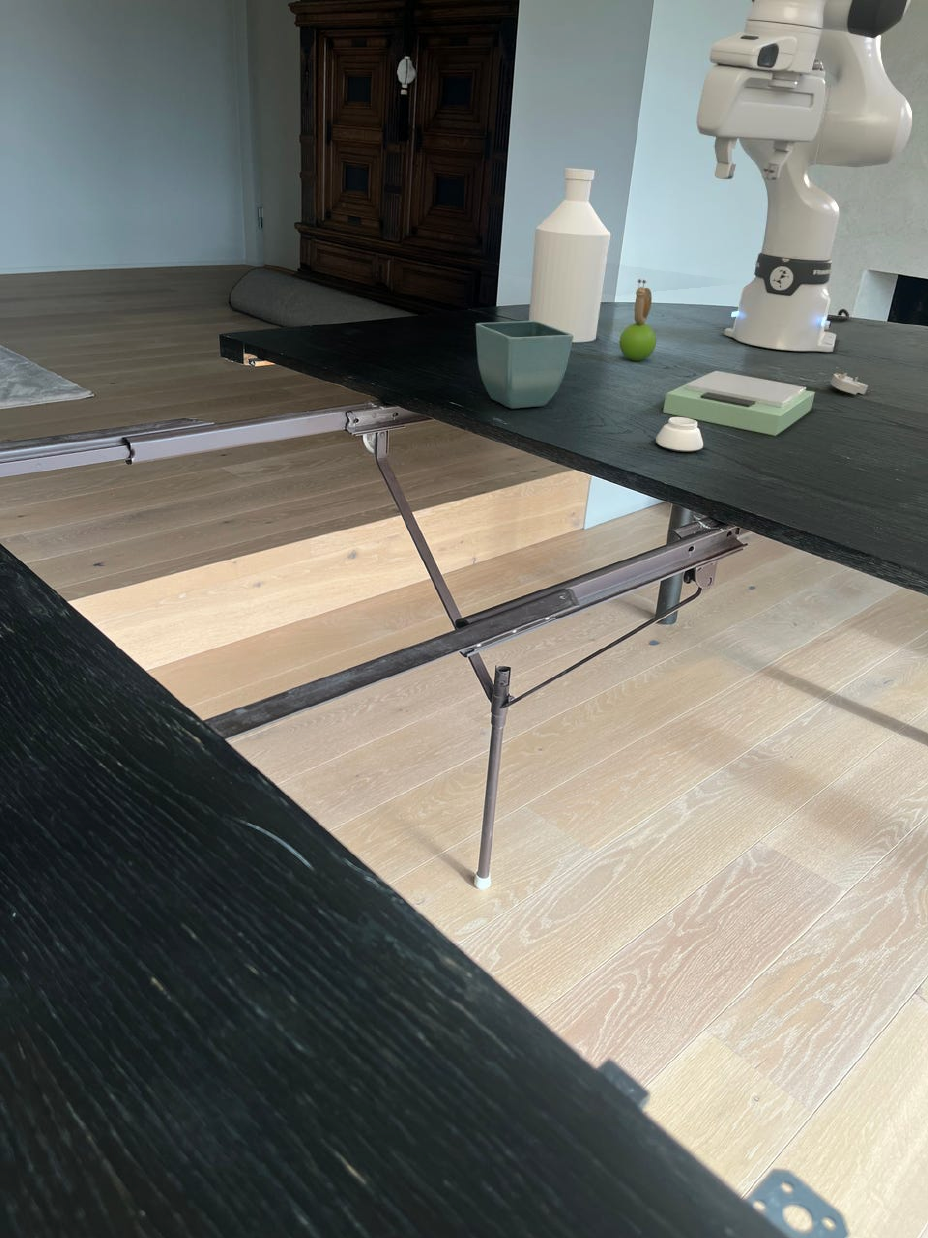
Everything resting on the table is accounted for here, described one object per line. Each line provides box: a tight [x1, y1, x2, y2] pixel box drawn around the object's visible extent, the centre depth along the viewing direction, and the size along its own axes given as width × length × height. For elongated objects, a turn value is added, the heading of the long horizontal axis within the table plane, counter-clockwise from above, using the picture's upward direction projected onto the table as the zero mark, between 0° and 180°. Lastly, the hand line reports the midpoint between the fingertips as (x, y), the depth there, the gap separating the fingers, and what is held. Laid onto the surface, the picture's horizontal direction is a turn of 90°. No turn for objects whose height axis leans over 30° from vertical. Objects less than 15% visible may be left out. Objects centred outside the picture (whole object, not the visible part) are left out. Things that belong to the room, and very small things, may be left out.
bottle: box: [528, 167, 611, 343], centre depth 153 cm, size 12×12×25 cm
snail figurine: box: [619, 278, 657, 362], centre depth 142 cm, size 5×6×12 cm
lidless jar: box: [655, 416, 704, 453], centre depth 104 cm, size 5×3×5 cm
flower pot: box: [475, 320, 574, 410], centre depth 115 cm, size 9×9×9 cm
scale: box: [662, 370, 816, 437], centre depth 120 cm, size 16×14×3 cm
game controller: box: [781, 372, 869, 395], centre depth 134 cm, size 6×12×3 cm, turn 100°
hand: (746, 178), depth 122 cm, fingers open, 8 cm apart
